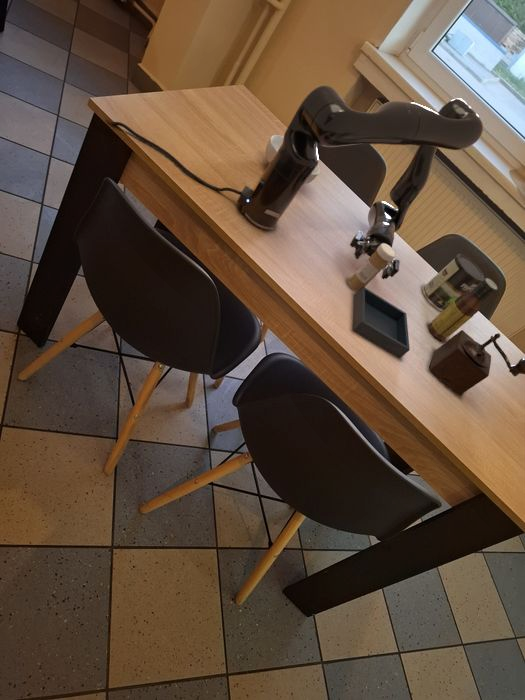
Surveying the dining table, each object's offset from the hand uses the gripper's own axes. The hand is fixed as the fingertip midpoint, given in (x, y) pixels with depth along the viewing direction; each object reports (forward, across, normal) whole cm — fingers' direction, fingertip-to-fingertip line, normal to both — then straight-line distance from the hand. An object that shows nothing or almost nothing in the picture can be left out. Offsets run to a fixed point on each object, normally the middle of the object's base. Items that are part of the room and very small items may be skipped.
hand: (371, 266), depth 124 cm
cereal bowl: (-28, -32, +7) cm, 44 cm away
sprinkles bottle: (+1, 0, +7) cm, 7 cm away
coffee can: (-23, +26, +7) cm, 36 cm away
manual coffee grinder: (+9, +34, +7) cm, 36 cm away
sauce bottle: (-6, +27, +7) cm, 29 cm away
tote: (+10, +9, +7) cm, 15 cm away
